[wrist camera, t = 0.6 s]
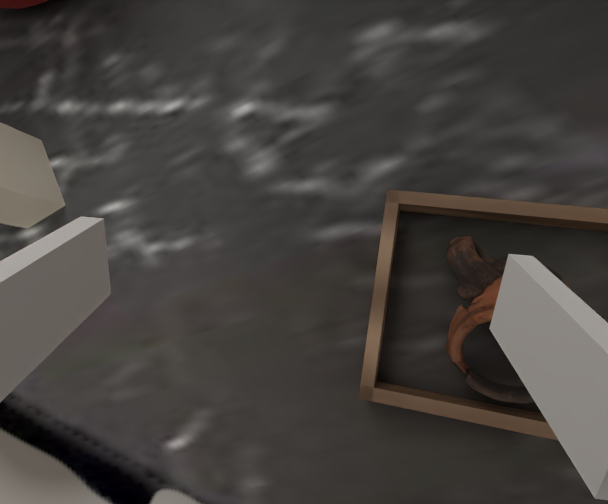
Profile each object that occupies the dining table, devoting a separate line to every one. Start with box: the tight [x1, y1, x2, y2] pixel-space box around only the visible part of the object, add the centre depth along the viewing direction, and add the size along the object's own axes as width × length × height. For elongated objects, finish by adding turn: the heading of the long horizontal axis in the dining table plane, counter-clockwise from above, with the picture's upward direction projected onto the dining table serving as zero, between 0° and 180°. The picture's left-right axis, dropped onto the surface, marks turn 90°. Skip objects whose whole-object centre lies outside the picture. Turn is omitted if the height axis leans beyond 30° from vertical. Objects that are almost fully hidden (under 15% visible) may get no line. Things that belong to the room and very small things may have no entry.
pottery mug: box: [446, 236, 572, 404], centre depth 32 cm, size 12×10×8 cm
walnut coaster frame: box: [359, 189, 608, 441], centre depth 33 cm, size 16×18×3 cm
